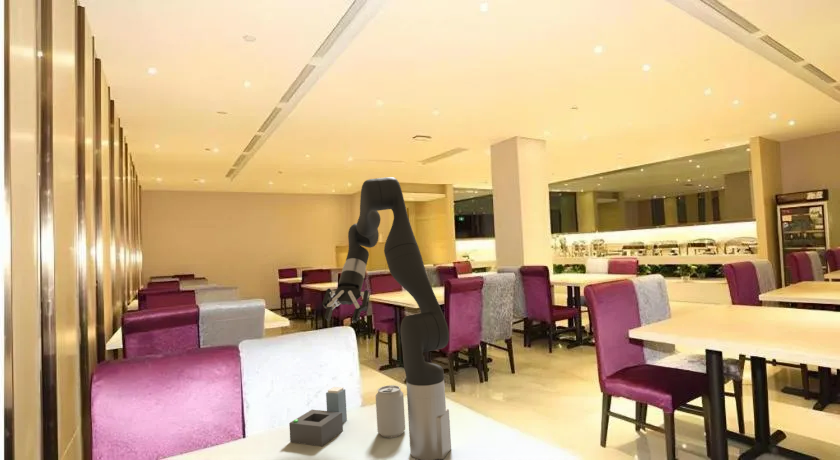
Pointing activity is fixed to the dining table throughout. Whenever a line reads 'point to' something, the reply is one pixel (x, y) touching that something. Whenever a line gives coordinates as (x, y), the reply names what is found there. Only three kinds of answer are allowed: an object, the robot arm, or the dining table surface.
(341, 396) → the plug
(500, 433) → the dining table surface
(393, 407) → the can
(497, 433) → the dining table surface
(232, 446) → the dining table surface
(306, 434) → the port block
